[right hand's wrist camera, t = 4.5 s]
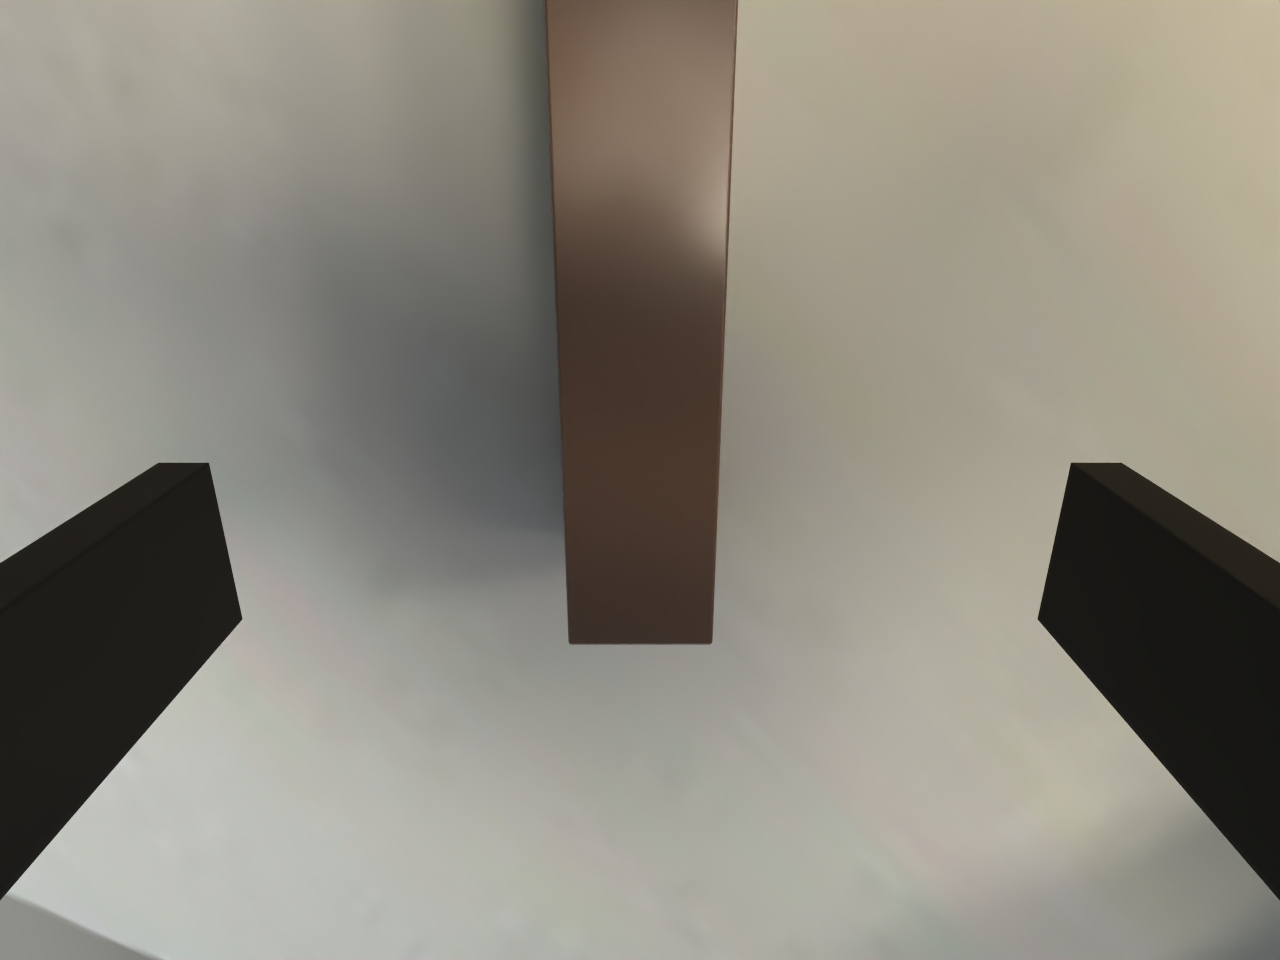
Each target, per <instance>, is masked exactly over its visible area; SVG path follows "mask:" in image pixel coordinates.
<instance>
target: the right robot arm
mask: <svg viewBox="0 0 1280 960" xmlns="http://www.w3.org/2000/svg"><path fill="white" fill-rule="evenodd" d="M241 620H242V615H241V610H240V606H239V601H238V596H237V592H236V587H235V582H234V578H233V573H232V568H231V564H230V559H229V554H228V550H227V545H226V540H225V536H224V531H223V526H222V522H221V517H220V512H219V508H218V503H217V498H216V494H215V489H214V484H213V480H212V475H211V470H210V466H209V463H158V464H156V465H154V466H153V467H151V468H150V469H148V470H146V471H145V472H143V473H142V474H140V475H139V476H137V477H135V478H134V479H132V480H131V481H129V482H128V483H126V484H124V485H123V486H121V487H120V488H118V489H117V490H115V491H113V492H112V493H110V494H109V495H107V496H105V497H104V498H102V499H101V500H99V501H98V502H96V503H94V504H93V505H91V506H90V507H88V508H87V509H85V510H83V511H82V512H80V513H79V514H77V515H75V516H74V517H72V518H71V519H69V520H68V521H66V522H64V523H63V524H61V525H60V526H58V527H57V528H55V529H53V530H52V531H50V532H49V533H47V534H45V535H44V536H42V537H41V538H39V539H38V540H36V541H34V542H33V543H31V544H30V545H28V546H27V547H25V548H23V549H22V550H20V551H19V552H17V553H16V554H14V555H12V556H11V557H9V558H8V559H6V560H4V561H3V562H1V563H0V900H1V899H2V898H3V896H4V895H5V894H6V893H7V892H8V891H9V889H10V888H11V887H12V886H13V885H14V884H15V882H16V881H17V880H18V879H19V878H20V877H21V875H22V874H23V873H24V872H25V871H26V870H27V869H28V867H29V866H30V865H31V864H32V863H33V862H34V860H35V859H36V858H37V857H38V856H39V855H40V853H41V852H42V851H43V850H44V849H45V848H46V846H47V845H48V844H49V843H50V842H51V841H52V840H53V838H54V837H55V836H56V835H57V834H58V833H59V831H60V830H61V829H62V828H63V827H64V826H65V824H66V823H67V822H68V821H69V820H70V819H71V817H72V816H73V815H74V814H75V813H76V812H77V811H78V809H79V808H80V807H81V806H82V805H83V804H84V802H85V801H86V800H87V799H88V798H89V797H90V795H91V794H92V793H93V792H94V791H95V790H96V788H97V787H98V786H99V785H100V784H101V783H102V781H103V780H104V779H105V778H106V777H107V776H108V775H109V773H110V772H111V771H112V770H113V769H114V768H115V766H116V765H117V764H118V763H119V762H120V761H121V759H122V758H123V757H124V756H125V755H126V754H127V752H128V751H129V750H130V749H131V748H132V747H133V746H134V744H135V743H136V742H137V741H138V740H139V739H140V737H141V736H142V735H143V734H144V733H145V732H146V730H147V729H148V728H149V727H150V726H151V725H152V723H153V722H154V721H155V720H156V719H157V718H158V717H159V715H160V714H161V713H162V712H163V711H164V710H165V708H166V707H167V706H168V705H169V704H170V703H171V701H172V700H173V699H174V698H175V697H176V696H177V694H178V693H179V692H180V691H181V690H182V689H183V687H184V686H185V685H186V684H187V683H188V682H189V681H190V679H191V678H192V677H193V676H194V675H195V674H196V672H197V671H198V670H199V669H200V668H201V667H202V665H203V664H204V663H205V662H206V661H207V660H208V658H209V657H210V656H211V655H212V654H213V653H214V652H215V650H216V649H217V648H218V647H219V646H220V645H221V643H222V642H223V641H224V640H225V639H226V638H227V636H228V635H229V634H230V633H231V632H232V631H233V629H234V628H235V627H236V626H237V625H238V624H239V623H240V621H241ZM1038 620H1039V621H1040V623H1041V624H1042V625H1043V626H1044V627H1045V628H1046V629H1047V631H1048V632H1049V633H1050V634H1051V635H1052V636H1053V638H1054V639H1055V640H1056V641H1057V642H1058V643H1059V645H1060V646H1061V647H1062V648H1063V649H1064V650H1065V652H1066V653H1067V654H1068V655H1069V656H1070V657H1071V658H1072V660H1073V661H1074V662H1075V663H1076V664H1077V665H1078V667H1079V668H1080V669H1081V670H1082V671H1083V672H1084V674H1085V675H1086V676H1087V677H1088V678H1089V679H1090V681H1091V682H1092V683H1093V684H1094V685H1095V686H1096V687H1097V689H1098V690H1099V691H1100V692H1101V693H1102V694H1103V696H1104V697H1105V698H1106V699H1107V700H1108V701H1109V703H1110V704H1111V705H1112V706H1113V707H1114V708H1115V710H1116V711H1117V712H1118V713H1119V714H1120V715H1121V717H1122V718H1123V719H1124V720H1125V721H1126V722H1127V723H1128V725H1129V726H1130V727H1131V728H1132V729H1133V730H1134V732H1135V733H1136V734H1137V735H1138V736H1139V737H1140V739H1141V740H1142V741H1143V742H1144V743H1145V744H1146V746H1147V747H1148V748H1149V749H1150V750H1151V751H1152V752H1153V754H1154V755H1155V756H1156V757H1157V758H1158V759H1159V761H1160V762H1161V763H1162V764H1163V765H1164V766H1165V768H1166V769H1167V770H1168V771H1169V772H1170V773H1171V775H1172V776H1173V777H1174V778H1175V779H1176V780H1177V781H1178V783H1179V784H1180V785H1181V786H1182V787H1183V788H1184V790H1185V791H1186V792H1187V793H1188V794H1189V795H1190V797H1191V798H1192V799H1193V800H1194V801H1195V802H1196V804H1197V805H1198V806H1199V807H1200V808H1201V809H1202V811H1203V812H1204V813H1205V814H1206V815H1207V816H1208V817H1209V819H1210V820H1211V821H1212V822H1213V823H1214V824H1215V826H1216V827H1217V828H1218V829H1219V830H1220V831H1221V833H1222V834H1223V835H1224V836H1225V837H1226V838H1227V840H1228V841H1229V842H1230V843H1231V844H1232V845H1233V846H1234V848H1235V849H1236V850H1237V851H1238V852H1239V853H1240V855H1241V856H1242V857H1243V858H1244V859H1245V860H1246V862H1247V863H1248V864H1249V865H1250V866H1251V867H1252V869H1253V870H1254V871H1255V872H1256V873H1257V874H1258V875H1259V877H1260V878H1261V879H1262V880H1263V881H1264V882H1265V884H1266V885H1267V886H1268V887H1269V888H1270V889H1271V891H1272V892H1273V893H1274V894H1275V895H1276V896H1277V898H1278V899H1279V900H1280V563H1279V562H1277V561H1276V560H1274V559H1272V558H1271V557H1269V556H1268V555H1266V554H1264V553H1263V552H1261V551H1260V550H1258V549H1257V548H1255V547H1253V546H1252V545H1250V544H1249V543H1247V542H1246V541H1244V540H1242V539H1241V538H1239V537H1238V536H1236V535H1235V534H1233V533H1231V532H1230V531H1228V530H1227V529H1225V528H1223V527H1222V526H1220V525H1219V524H1217V523H1216V522H1214V521H1212V520H1211V519H1209V518H1208V517H1206V516H1205V515H1203V514H1201V513H1200V512H1198V511H1197V510H1195V509H1193V508H1192V507H1190V506H1189V505H1187V504H1186V503H1184V502H1182V501H1181V500H1179V499H1178V498H1176V497H1175V496H1173V495H1171V494H1170V493H1168V492H1167V491H1165V490H1163V489H1162V488H1160V487H1159V486H1157V485H1156V484H1154V483H1152V482H1151V481H1149V480H1148V479H1146V478H1145V477H1143V476H1141V475H1140V474H1138V473H1137V472H1135V471H1134V470H1132V469H1130V468H1129V467H1127V466H1126V465H1124V464H1122V463H1071V466H1070V470H1069V475H1068V480H1067V484H1066V489H1065V494H1064V498H1063V503H1062V508H1061V512H1060V517H1059V522H1058V526H1057V531H1056V536H1055V540H1054V545H1053V550H1052V554H1051V559H1050V564H1049V568H1048V573H1047V578H1046V582H1045V587H1044V592H1043V596H1042V601H1041V606H1040V610H1039V615H1038Z"/></svg>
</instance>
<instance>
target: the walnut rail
mask: <svg viewBox="0 0 1280 960" xmlns="http://www.w3.org/2000/svg"><path fill="white" fill-rule="evenodd" d="M737 12H738V0H544V16H545V42H546V68H547V94H548V120H549V145H550V171H551V197H552V223H553V249H554V275H555V301H556V327H557V353H558V379H559V405H560V431H561V457H562V483H563V509H564V535H565V561H566V587H567V613H568V639H569V643H570V644H711V643H712V639H713V614H714V589H715V564H716V539H717V513H718V488H719V463H720V438H721V413H722V388H723V363H724V338H725V313H726V288H727V263H728V238H729V213H730V187H731V162H732V137H733V112H734V87H735V62H736V37H737Z"/></svg>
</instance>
